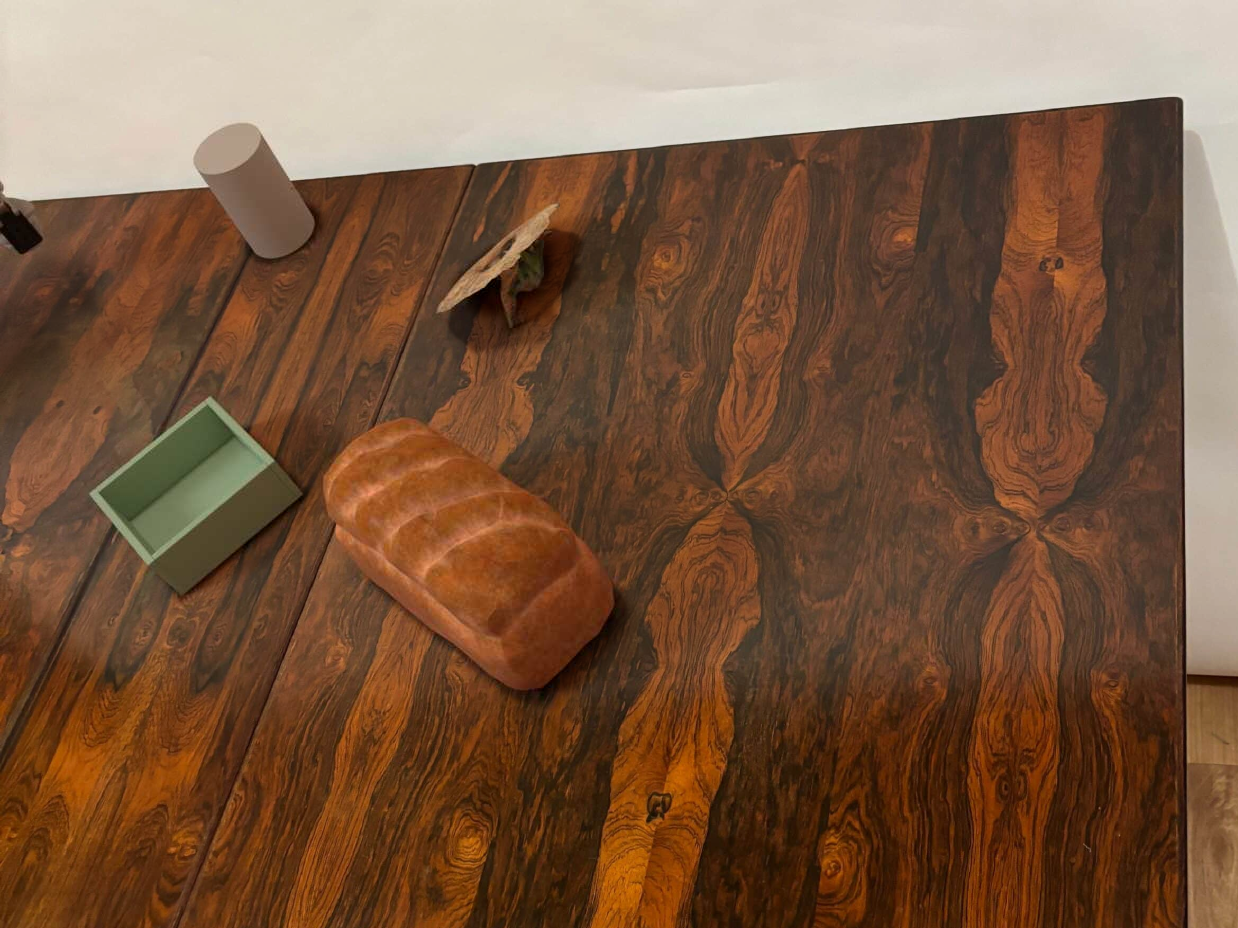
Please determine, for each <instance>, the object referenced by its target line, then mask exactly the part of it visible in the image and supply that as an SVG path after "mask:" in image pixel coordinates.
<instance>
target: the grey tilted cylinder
mask: <svg viewBox="0 0 1238 928" xmlns="http://www.w3.org/2000/svg"><path fill="white" fill-rule="evenodd" d="M193 166H194V168H195V169H196V170H197V172H198V173H199V175H200V176H201V178H202V179H203V180H204V182H205V183H206V185H207V186H208V187H209V189H210V190H211V192H212V193H213V195H214V196H215V197H216V199H217V201H218V202H219V204H220V205H221V206H222V209H224V210H225V212H226V214H227V215H228V216H229V218H230V220H232V222H233V224H234V225H235V227H236V228H237V229H238V231H239V232H240V234H241V235H242V237H243V238H244V239H245V241H246V242H247V243H248V245H249V246H250V248H251V249H252V250H253V252H254V253H255V254H256V255H257V256H258V257H261V258H264V259H278V258H282V257H285V256H288V255H290V254H292V253H293V252H295V251H297V250H298V249H300V248H301V247H302V246H303V245H304V244H305V243H306V242H307V241H308V240H309V239H310V237H311V236H312V234H313V232H314V229H315V218H314V216H313V214H312V212H311V210H309V208H308V206H307V205H306V203H305V201H304V200H303V198H302V197H301V195H300V193H299V192H298V190H297V189H296V188H295V185H294V184H293V182H292V180H291V179H290V178H289V176H288V174H287V172H286V171H285V169H284V167H283V166H282V164H281V163H280V161H279V160H278V158H277V157H276V155H275V153H274V151H273V150H272V148H271V147H270V145H269V144H268V142H267V140H266V139H265V136H263V134H262V132H261V131H260V129H259V128H258V127H257V126H256V125H254V124H252V123H248V122H237V123H232V124H228V125H226V126H223V127H221V128H219V129H217V130H215V131H213V132H212V133H210V134H209V135H208V136H207V137H206V138H205V139H203V140H202V142H200V144H199V145H198V147H197V148H196V150H195V152H194V156H193Z"/></svg>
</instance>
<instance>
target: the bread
mask: <svg viewBox="0 0 1238 928" xmlns="http://www.w3.org/2000/svg"><path fill="white" fill-rule="evenodd" d="M322 480H323V481H322V482H323V483H322V484H323V485H322V492H323V496H324V500H325V504H326V505H325V507H326V509H327V514H328V517H329V518H330V519H332V521H333V522H334V523H335V529H334V535H335V537H336V538H337V540H338V541H339V543H340V544H341V546H342V548H343V549H344V551H345V553H346V554H347V555H348V556H349V557H350V559H351V560H352V561H353V562H354V564H355V565H356V566H357V567H358V569H359V570H360V571H361V573H362V574H363V575H365V576H366V577H367V578H368V579H370V580H371V581H372V582H373V583H374V584H375V585H376V586H378V587H379V588H381V589H383V590H384V591H385V592H386V593H387V594H389V595H390V596H391V597H392V598H393V599H394V600H395V601H397V602H398V603H399V604H400V605H401V606H402V607H403V608H405V609H406V610H407V611H409V612H410V613H411V614H412V615H413V616H415V617H416V618H417V619H418V620H419V621H420V622H422V623H423V624H424V625H425V626H427V627H428V628H429V629H430V630H432V631H433V632H434V633H436V634H438V635H439V636H441V637H443V638H444V639H446V640H447V641H449V642H451V643H452V644H453V645H455V646H456V647H457V648H458V649H459V650H461V652H463V653H464V654H465V655H466V656H468V657H469V658H470V659H471V660H472V661H473V662H474V663H476V665H478V666H479V668H481V669H482V670H483V671H485V672H486V673H487V674H488V675H489V676H491V677H492V678H494V679H496V680H498V681H499V682H500V683H502V684H503V685H505V686H507V687H508V688H511V689H513V690H516V691H517V690H518V691H530V690H537V689H542V688H543V687H544V686H545V685H547V684H548V683H549V682H550V681H551V680H552V679H553V678H554V677H555V676H556V675H557V674H559V673H560V672H561V671H562V670H563V669H564V668H565V667H566V666H567V665H568V664H569V663H570V662H571V661H572V660H573V659H574V657H575V656H576V655H577V654H578V653H579V652H580V651H581V650H582V649H583V648H584V647H585V646H586V645H587V644H588V643H589V642H590V641H592V640H593V639H594V638H595V637H597V636H598V635H599V634H600V632H601V630H602V629H603V626H604V625H605V623H606V622H607V620H608V618H609V616H610V614H611V612H612V611H613V608H614V607H615V597H614V587H613V584H612V581H611V579H610V577H609V575H608V574H607V572H606V570H605V569H604V567H603V565H602V564H601V562H600V560H599V559H598V558H597V556H596V555H595V554H594V552H593V551H592V550H591V549H590V548H589V546H588V544H587V543H586V542H585V541H583V540H582V539H581V538H580V537H579V536H578V535H577V534H576V533H575V532H574V529H573V528H572V527H571V525H570V524H568V523H567V522H566V521H565V520H564V519H563V517H562V516H561V515H560V514H559V513H558V512H557V511H556V510H555V509H554V508H553V507H552V506H551V505H549V504H548V503H547V502H546V501H544V500H543V499H542V498H540V497H538V496H537V495H535V494H533V493H531V492H529V491H528V490H526V489H524V488H522V487H521V486H519V485H518V484H517V483H515V482H514V481H512V480H510V479H509V478H508V477H506V476H505V475H503V473H501V472H500V471H498V470H497V469H495V468H494V467H493V466H491V465H489V464H488V463H486V462H485V461H484V460H482V459H481V458H479V457H478V456H476V454H474V453H472V452H471V451H469V450H468V449H466V448H464V447H463V446H462V445H460V444H459V443H456V442H454V441H452V440H450V439H448V438H447V437H445V436H444V435H443V434H441V432H438V431H437V430H435V429H433V428H432V427H430V426H429V425H427V424H425V423H423V421H420V420H418V419H415V418H412V417H400V418H397V419H393V420H389V421H387V422H384V423H383V422H382V423H380V424H377V425H375V426H374V427H373V428H371V429H369V430H368V431H366V432H365V433H363V434H361V435H360V436H358V437H357V438H355V439H354V440H352V441H351V442H350V443H349V444H348V445H347V446H346V447H345V448H344V449H343V450H342V452H341V453H340V454H339V455H338V456H337V457H336V458H335V460H334V461H333V463H332V464H331V466H330V467H329V468H328V470H327V471H326V473H325V474H324V475H323V479H322Z"/></svg>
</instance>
